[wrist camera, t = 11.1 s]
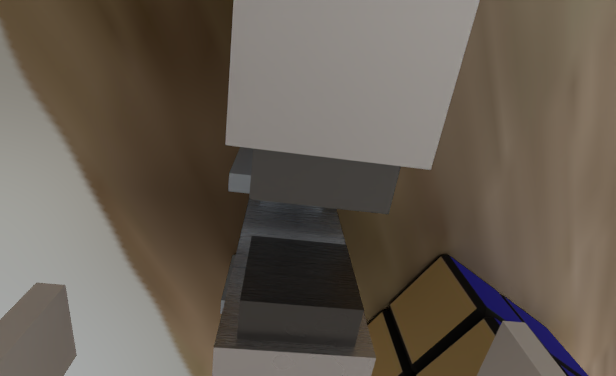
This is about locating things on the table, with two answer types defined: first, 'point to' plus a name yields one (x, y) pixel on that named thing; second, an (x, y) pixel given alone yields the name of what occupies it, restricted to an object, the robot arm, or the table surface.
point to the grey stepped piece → (339, 96)
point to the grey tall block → (292, 298)
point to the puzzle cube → (450, 326)
